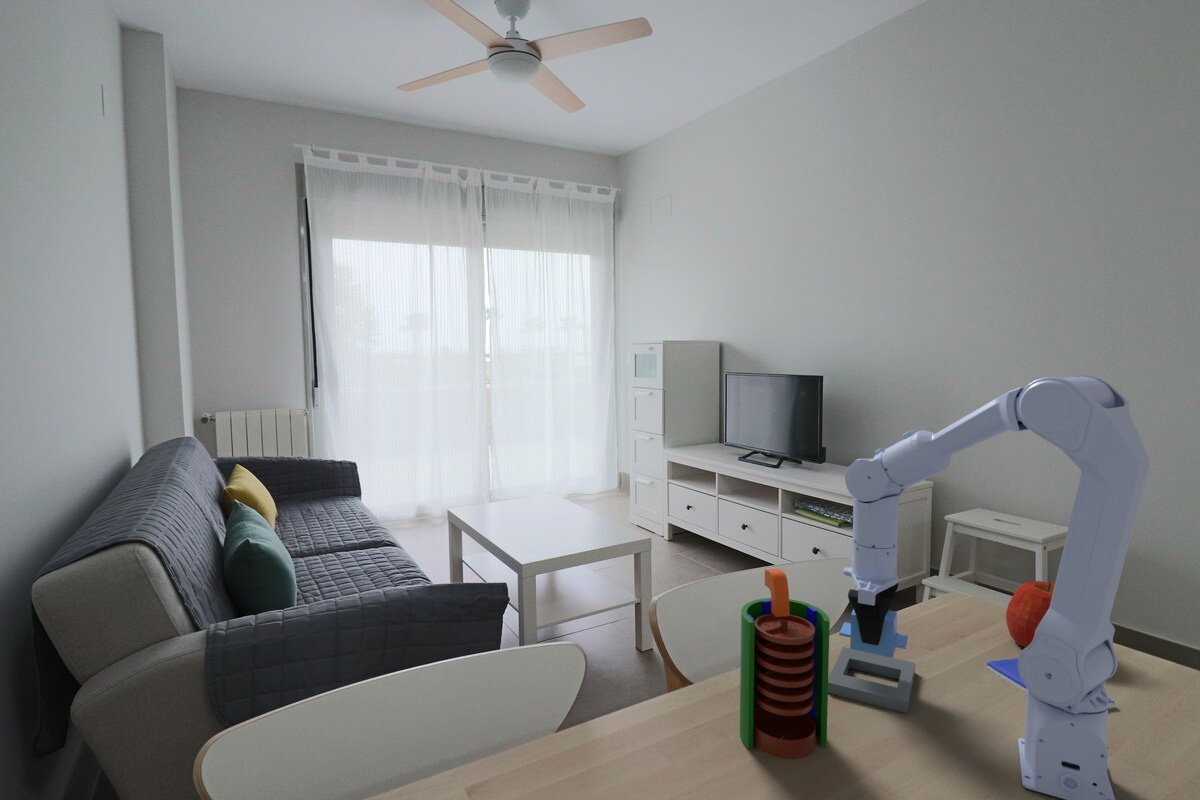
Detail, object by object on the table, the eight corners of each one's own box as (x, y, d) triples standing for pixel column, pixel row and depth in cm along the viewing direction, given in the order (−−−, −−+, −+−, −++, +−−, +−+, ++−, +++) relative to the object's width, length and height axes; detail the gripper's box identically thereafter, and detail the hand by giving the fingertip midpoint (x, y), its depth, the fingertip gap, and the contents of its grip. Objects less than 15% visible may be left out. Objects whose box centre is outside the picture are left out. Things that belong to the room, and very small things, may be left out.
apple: (1040, 666, 93) (1043, 596, 92) (988, 634, 104) (990, 571, 103) (1106, 662, 94) (1110, 593, 93) (1048, 630, 105) (1051, 568, 104)
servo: (905, 660, 84) (906, 619, 84) (839, 646, 89) (839, 606, 88) (907, 648, 88) (908, 608, 87) (844, 635, 92) (844, 597, 92)
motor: (761, 766, 71) (762, 595, 70) (725, 722, 80) (725, 569, 78) (838, 750, 74) (840, 585, 72) (795, 709, 82) (796, 561, 81)
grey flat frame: (906, 713, 81) (907, 702, 81) (826, 692, 86) (826, 682, 86) (914, 672, 91) (915, 662, 91) (842, 656, 96) (842, 647, 96)
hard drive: (1115, 700, 82) (1033, 655, 94) (1062, 707, 80) (986, 661, 92) (1114, 711, 82) (1033, 665, 94) (1061, 718, 80) (986, 671, 93)
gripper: (853, 526, 96) (851, 612, 97) (834, 552, 83) (833, 651, 84) (904, 532, 92) (901, 622, 93) (892, 561, 80) (890, 663, 81)
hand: (872, 636), depth 88 cm, fingers closed on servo, 4 cm apart
